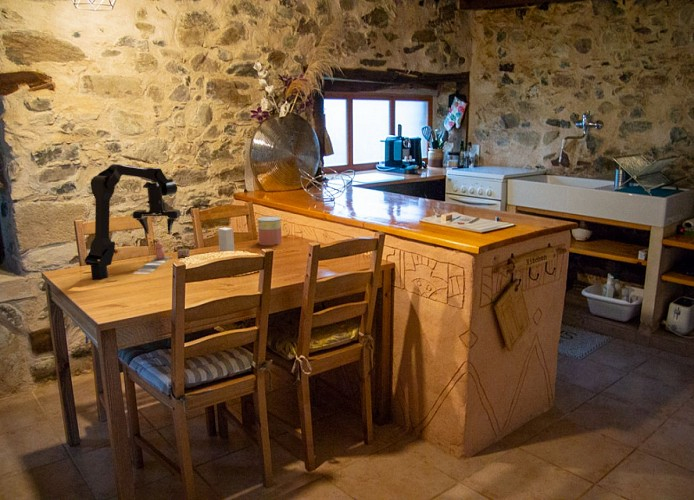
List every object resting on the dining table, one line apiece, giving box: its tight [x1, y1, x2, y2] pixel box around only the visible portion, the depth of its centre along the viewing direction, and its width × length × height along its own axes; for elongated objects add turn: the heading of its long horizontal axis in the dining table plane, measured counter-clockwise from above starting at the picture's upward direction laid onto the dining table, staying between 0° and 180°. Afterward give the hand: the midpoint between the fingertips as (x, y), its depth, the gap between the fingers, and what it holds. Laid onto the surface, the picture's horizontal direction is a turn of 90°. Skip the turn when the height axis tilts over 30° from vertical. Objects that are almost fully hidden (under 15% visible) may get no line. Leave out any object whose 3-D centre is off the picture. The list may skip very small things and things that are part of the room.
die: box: [177, 248, 190, 260], centre depth 252 cm, size 4×4×4 cm
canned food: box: [257, 216, 283, 246], centre depth 280 cm, size 11×11×12 cm
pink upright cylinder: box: [154, 241, 166, 260], centre depth 246 cm, size 3×3×7 cm
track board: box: [132, 256, 173, 275], centre depth 238 cm, size 27×8×1 cm, turn 179°
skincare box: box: [217, 227, 235, 253], centre depth 257 cm, size 6×4×12 cm
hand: (158, 233), depth 244 cm, fingers open, 9 cm apart
